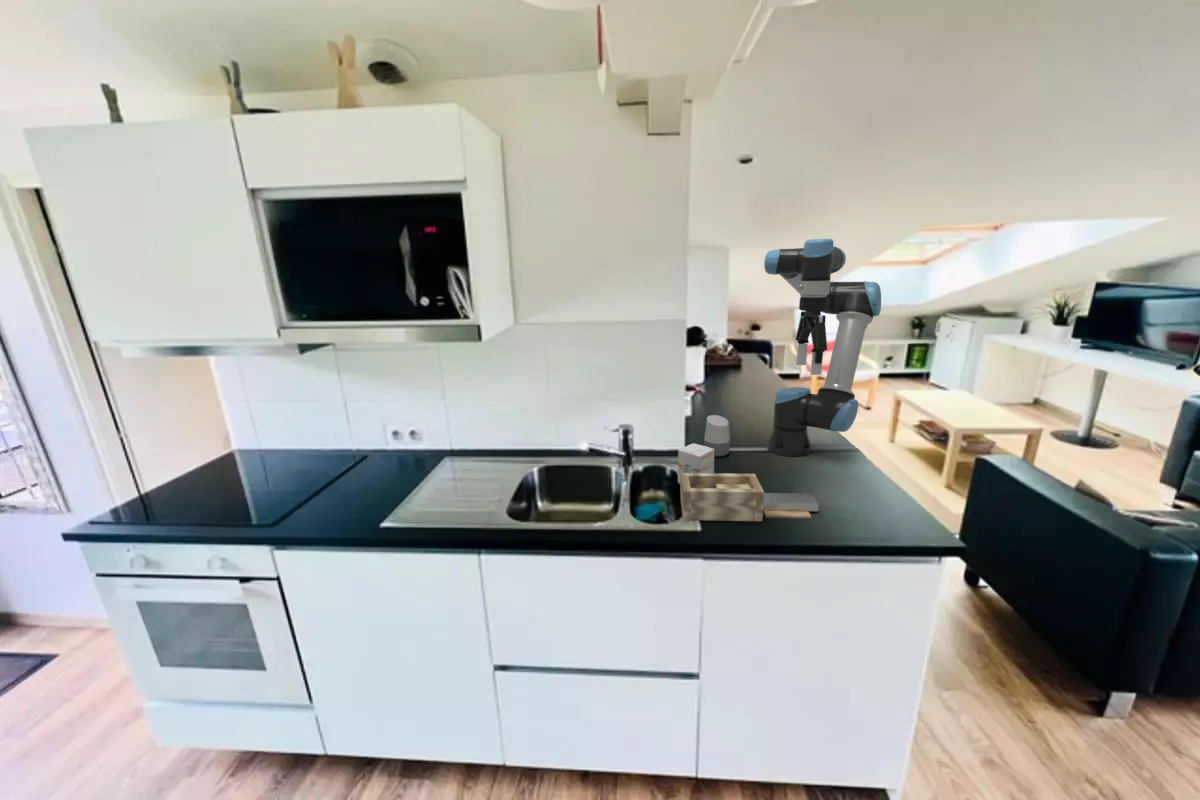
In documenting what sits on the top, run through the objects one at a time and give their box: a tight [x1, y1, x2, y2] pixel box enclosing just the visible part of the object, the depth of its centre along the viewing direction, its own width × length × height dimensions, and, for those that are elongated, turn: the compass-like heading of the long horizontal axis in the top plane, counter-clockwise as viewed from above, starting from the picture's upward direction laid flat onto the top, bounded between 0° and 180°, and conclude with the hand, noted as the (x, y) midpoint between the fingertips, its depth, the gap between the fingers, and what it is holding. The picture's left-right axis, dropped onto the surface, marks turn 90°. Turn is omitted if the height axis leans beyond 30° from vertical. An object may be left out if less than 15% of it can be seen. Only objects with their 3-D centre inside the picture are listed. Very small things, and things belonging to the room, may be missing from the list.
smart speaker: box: [703, 414, 731, 458], centre depth 177 cm, size 10×9×14 cm
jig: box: [680, 472, 765, 522], centre depth 137 cm, size 21×12×9 cm, turn 85°
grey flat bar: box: [763, 492, 820, 512], centre depth 138 cm, size 16×6×2 cm, turn 85°
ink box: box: [677, 443, 715, 485], centre depth 154 cm, size 9×8×12 cm
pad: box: [763, 510, 812, 519], centre depth 138 cm, size 12×12×1 cm
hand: (808, 369), depth 143 cm, fingers open, 13 cm apart
